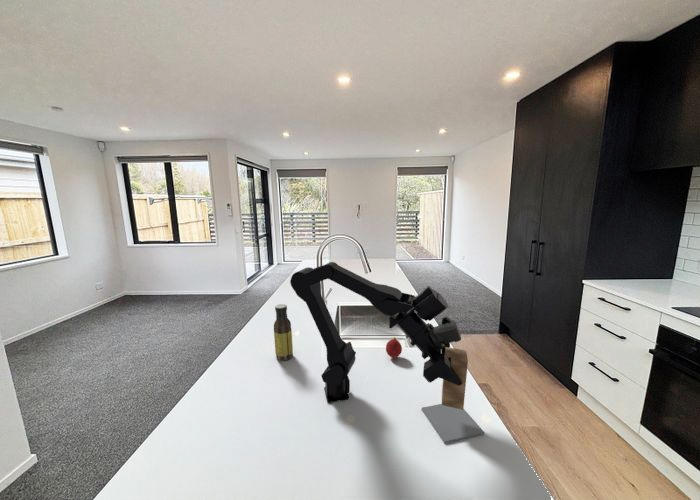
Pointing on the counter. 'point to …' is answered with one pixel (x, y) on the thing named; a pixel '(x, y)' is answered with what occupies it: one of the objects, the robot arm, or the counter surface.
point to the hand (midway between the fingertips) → (459, 377)
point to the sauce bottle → (282, 334)
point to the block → (459, 362)
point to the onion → (393, 348)
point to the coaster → (451, 423)
